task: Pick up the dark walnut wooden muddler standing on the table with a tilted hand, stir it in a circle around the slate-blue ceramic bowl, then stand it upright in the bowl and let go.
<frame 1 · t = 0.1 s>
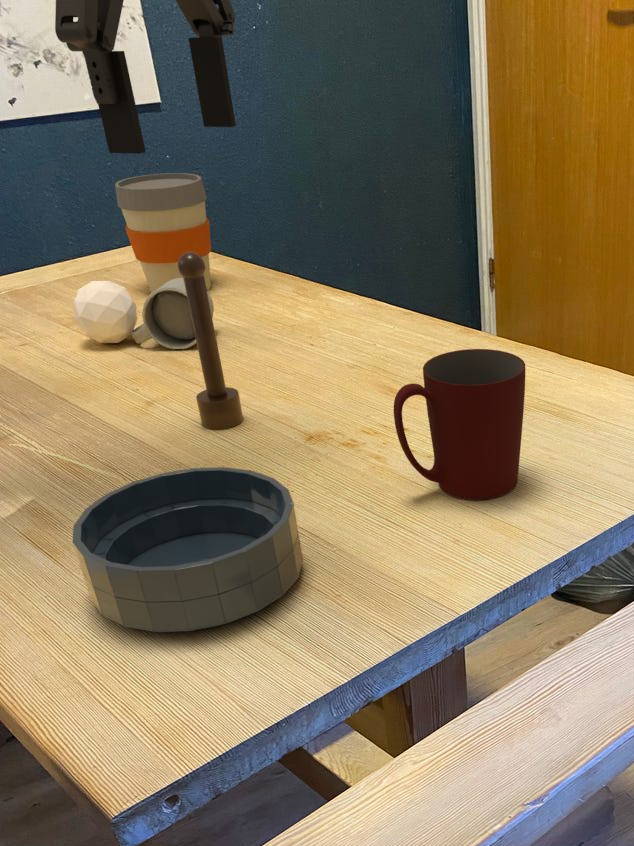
hand: (177, 139, 76), 28 cm above the table, tool pointing down, fingers open, 13 cm apart
bowl: (200, 580, 74), on the table
reusable coffee cup: (181, 289, 143), on the table
mug: (462, 487, 87), on the table
geometric ball: (116, 342, 123), on the table, touching ceramic mug
muddler: (222, 421, 101), on the table
ceramic mug: (176, 342, 123), on the table, touching geometric ball
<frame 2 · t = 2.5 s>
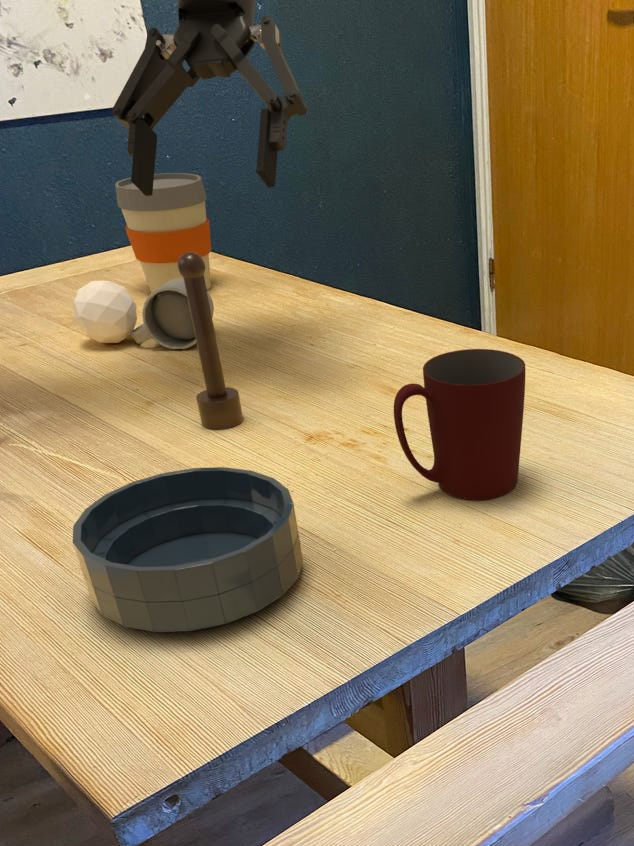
hand: (202, 184, 94), 22 cm above the table, tool tilted 40°, fingers open, 13 cm apart
nothing on the table moved.
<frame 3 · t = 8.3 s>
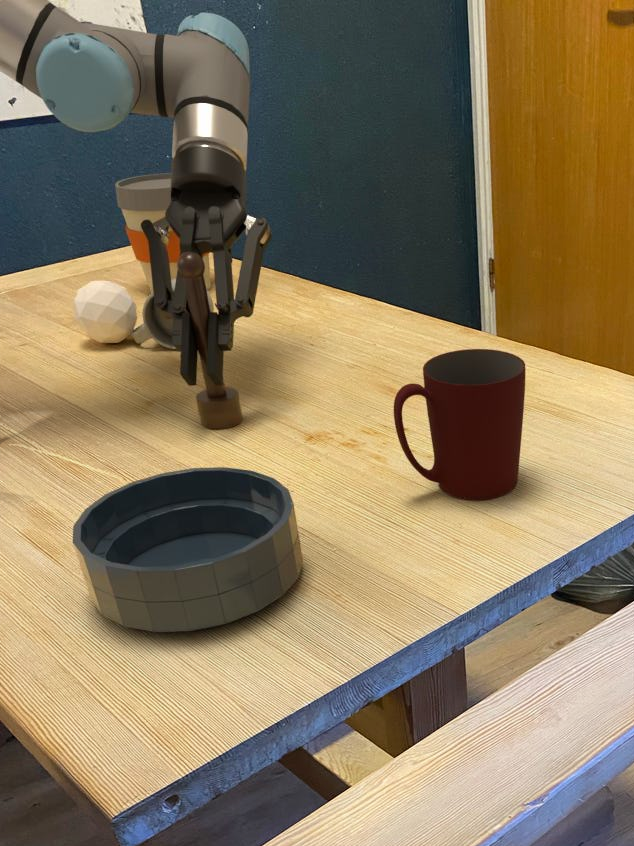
hand: (201, 379, 94), 6 cm above the table, tool tilted 45°, fingers closed on muddler, 2 cm apart
muddler: (222, 421, 101), on the table, touching gripper
everything else where it was.
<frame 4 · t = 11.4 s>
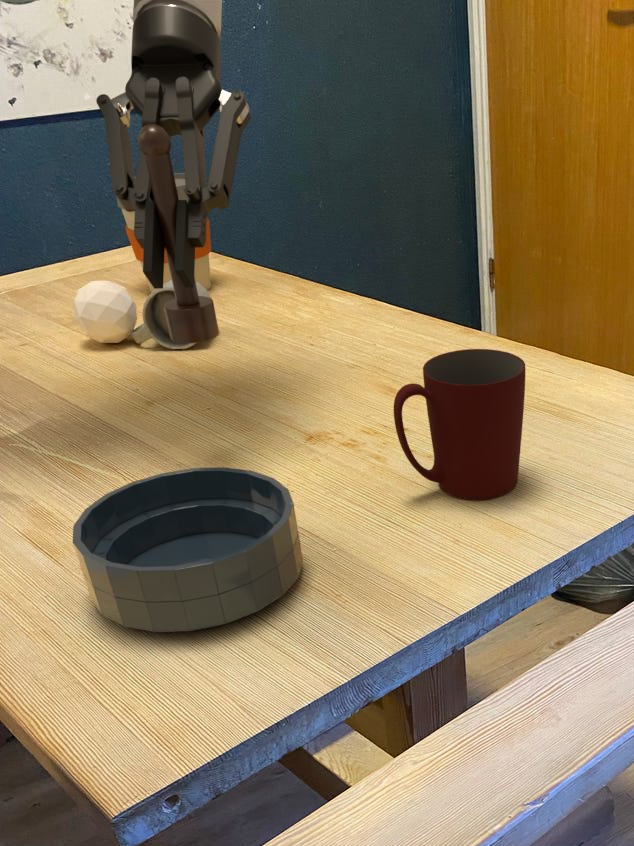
hand: (168, 279, 80), 18 cm above the table, tool tilted 45°, fingers closed on muddler, 2 cm apart
muddler: (195, 335, 87), point 12 cm above the table, touching gripper
everything else where it was.
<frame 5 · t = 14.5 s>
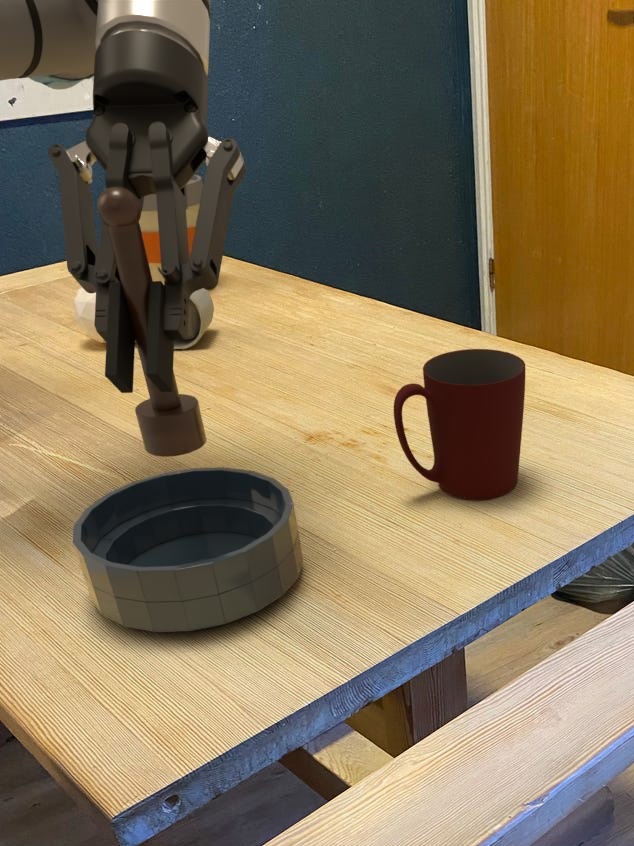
hand: (139, 383, 62), 17 cm above the table, tool tilted 45°, fingers closed on muddler, 2 cm apart
muddler: (176, 444, 69), point 11 cm above the table, touching gripper
everything else where it was.
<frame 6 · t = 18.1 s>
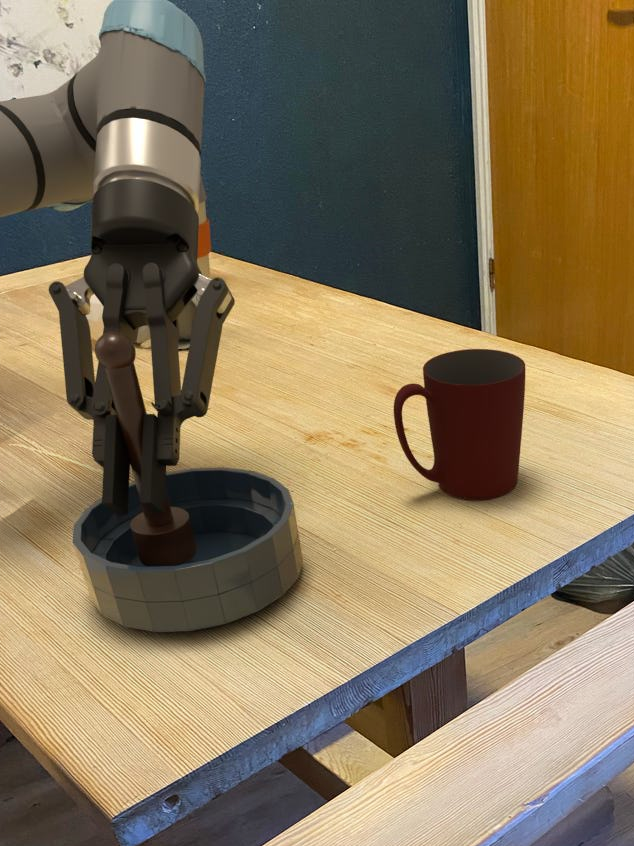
hand: (133, 508, 66), 9 cm above the table, tool tilted 45°, fingers closed on muddler, 2 cm apart
muddler: (168, 553, 73), point 2 cm above the table, touching gripper
everything else where it was.
when the fingers open (7 cm above the table, at t = 20.8 s): muddler stays where it is, resting on bowl.
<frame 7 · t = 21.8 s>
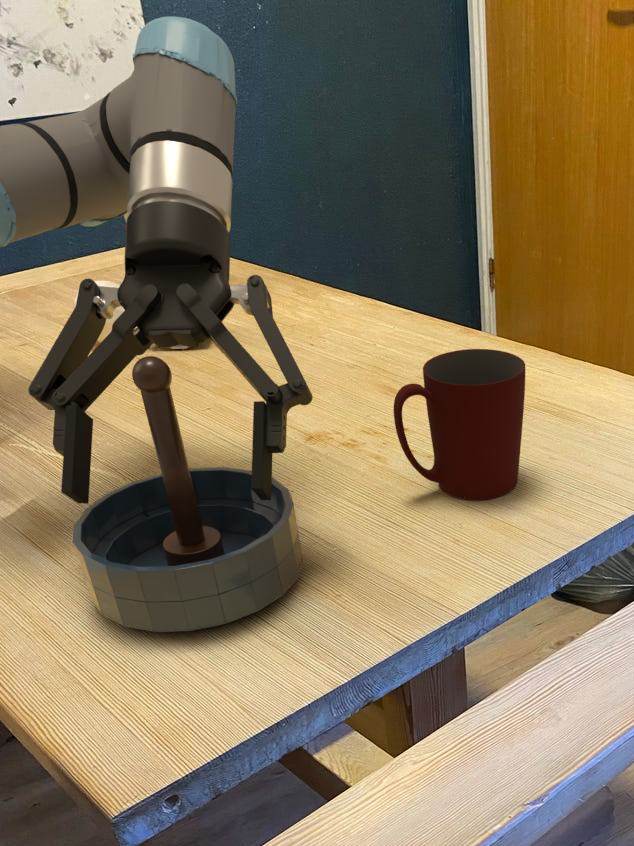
hand: (168, 496, 67), 9 cm above the table, tool tilted 45°, fingers open, 13 cm apart
muddler: (199, 572, 74), point 1 cm above the table, touching bowl
everything else where it was.
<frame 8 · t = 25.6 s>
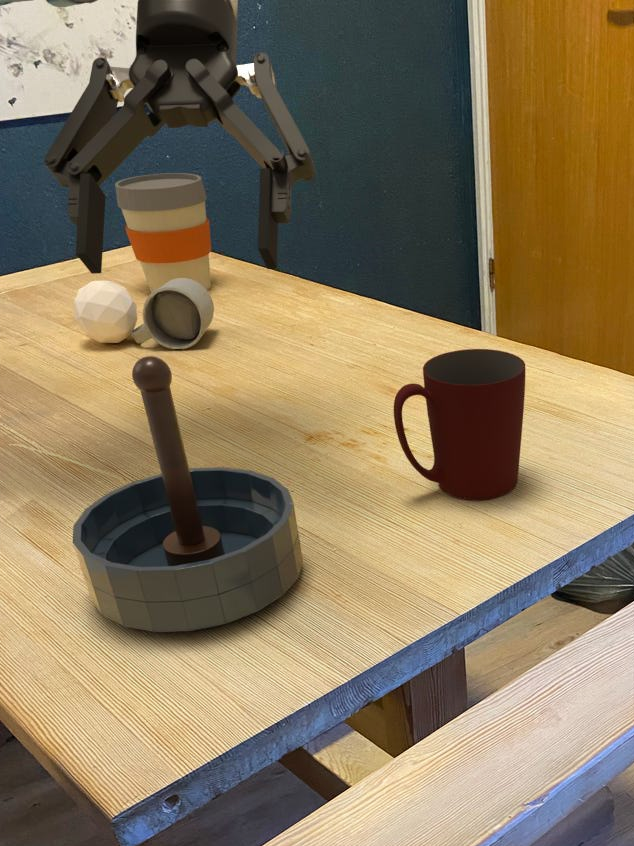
hand: (177, 262, 70), 22 cm above the table, tool tilted 45°, fingers open, 13 cm apart
nothing on the table moved.
at the end: muddler inside the target area in the bowl (0.1 cm from its centre), point 0.8 cm above the bowl's base; muddler tilted 0°; the gripper is holding nothing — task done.
